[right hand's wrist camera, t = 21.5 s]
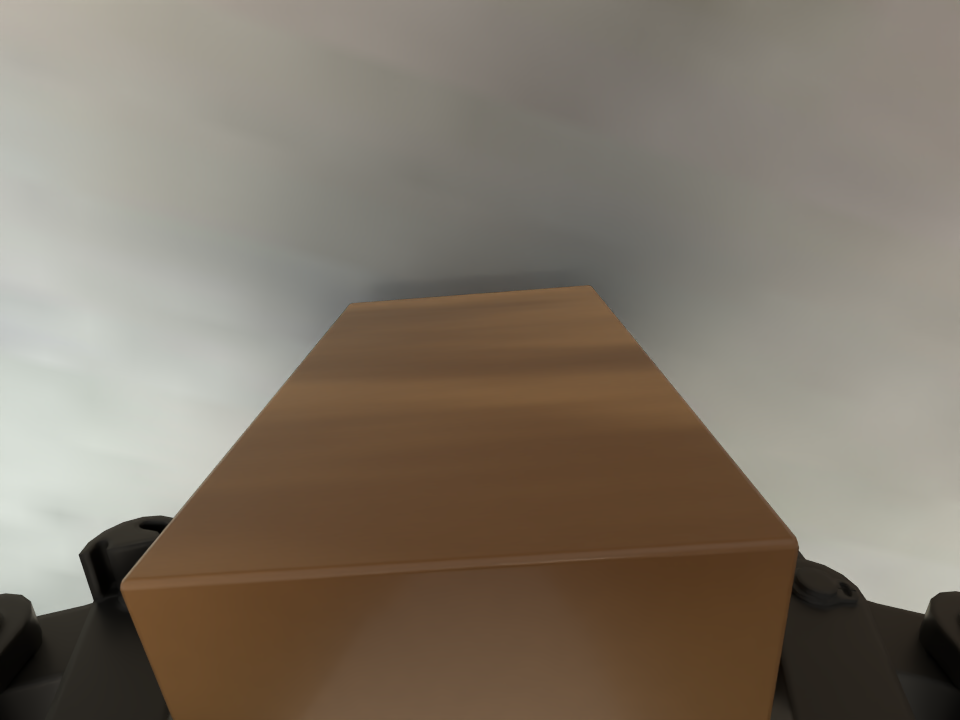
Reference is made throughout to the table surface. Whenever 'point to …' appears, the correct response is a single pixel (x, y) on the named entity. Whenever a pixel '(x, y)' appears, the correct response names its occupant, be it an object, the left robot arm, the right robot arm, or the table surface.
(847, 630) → the right robot arm
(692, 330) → the table surface
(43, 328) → the table surface
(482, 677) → the box
